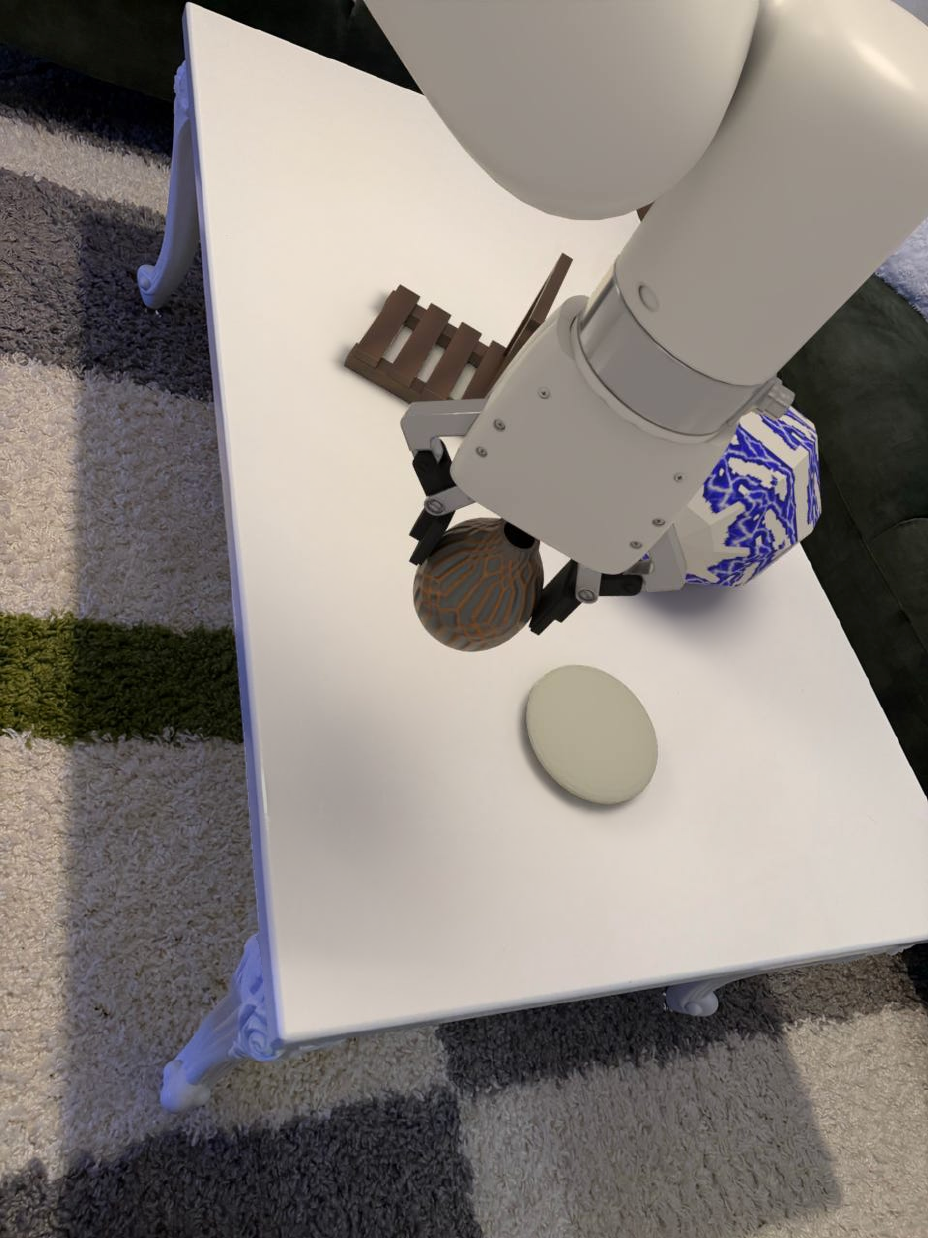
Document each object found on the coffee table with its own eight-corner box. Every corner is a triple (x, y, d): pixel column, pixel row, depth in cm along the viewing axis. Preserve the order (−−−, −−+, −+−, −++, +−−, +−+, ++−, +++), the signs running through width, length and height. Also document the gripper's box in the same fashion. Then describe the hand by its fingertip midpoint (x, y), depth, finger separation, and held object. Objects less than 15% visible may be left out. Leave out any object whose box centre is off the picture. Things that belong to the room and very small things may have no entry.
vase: (402, 553, 53) (462, 461, 46) (506, 585, 55) (577, 502, 48) (391, 651, 49) (455, 567, 42) (503, 682, 51) (580, 606, 44)
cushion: (613, 840, 69) (634, 828, 66) (492, 743, 69) (509, 727, 66) (666, 735, 76) (686, 721, 74) (558, 647, 76) (575, 630, 74)
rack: (343, 364, 83) (395, 236, 72) (388, 300, 91) (441, 175, 80) (472, 439, 85) (542, 325, 74) (505, 370, 93) (574, 257, 81)
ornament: (588, 403, 72) (675, 310, 84) (554, 580, 86) (633, 478, 98) (828, 489, 65) (884, 376, 78) (749, 665, 80) (807, 545, 92)
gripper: (847, 407, 39) (625, 609, 52) (509, 185, 36) (369, 458, 50) (840, 519, 34) (598, 708, 48) (452, 273, 32) (314, 548, 45)
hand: (482, 579), depth 49 cm, fingers closed on vase, 6 cm apart
